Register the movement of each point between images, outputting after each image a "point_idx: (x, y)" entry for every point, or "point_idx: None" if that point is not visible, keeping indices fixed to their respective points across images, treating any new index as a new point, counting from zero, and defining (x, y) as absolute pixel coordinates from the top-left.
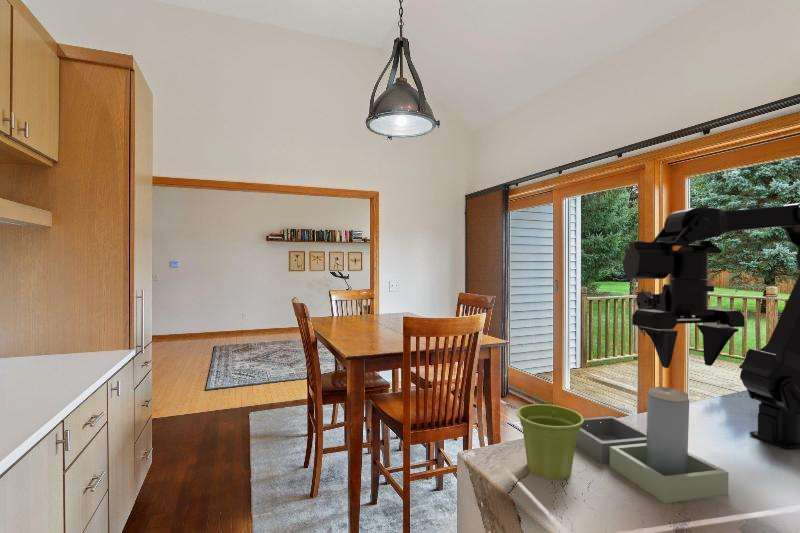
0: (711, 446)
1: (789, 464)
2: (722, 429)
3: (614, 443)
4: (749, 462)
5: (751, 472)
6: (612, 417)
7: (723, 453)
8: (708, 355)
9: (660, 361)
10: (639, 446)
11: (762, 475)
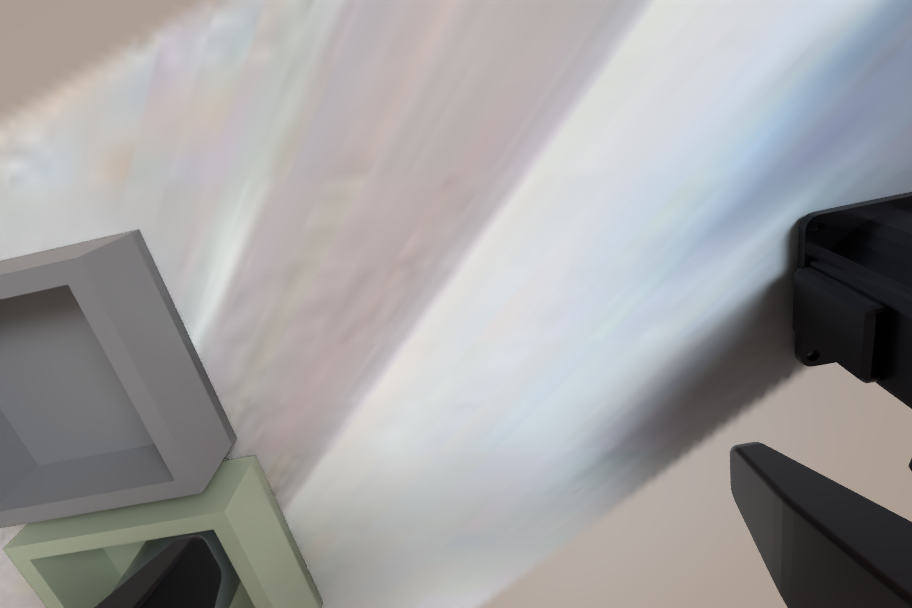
0: (515, 331)
1: (672, 455)
2: (738, 140)
3: (27, 521)
4: (547, 445)
5: (494, 499)
6: (70, 278)
7: (513, 386)
8: (801, 568)
9: (131, 579)
10: (109, 546)
11: (512, 513)
